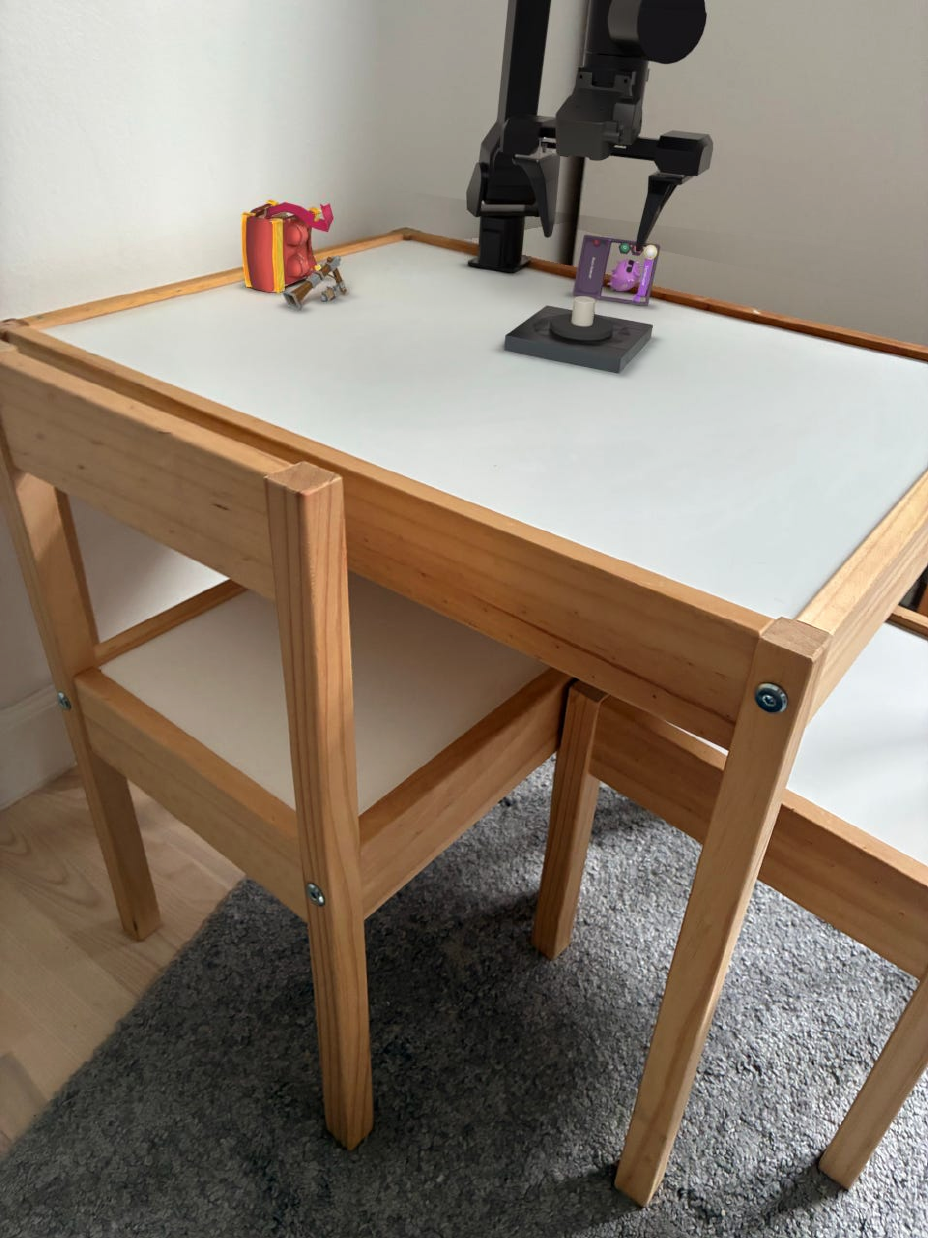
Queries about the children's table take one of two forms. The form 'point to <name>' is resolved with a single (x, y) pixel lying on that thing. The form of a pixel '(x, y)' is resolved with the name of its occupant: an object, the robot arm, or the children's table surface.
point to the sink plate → (579, 341)
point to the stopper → (582, 322)
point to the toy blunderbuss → (317, 283)
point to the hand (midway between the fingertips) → (592, 243)
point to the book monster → (280, 244)
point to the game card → (622, 277)
